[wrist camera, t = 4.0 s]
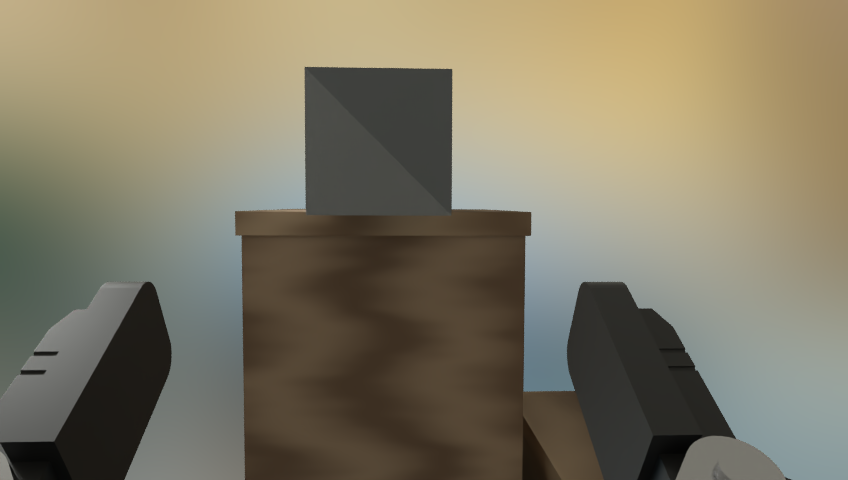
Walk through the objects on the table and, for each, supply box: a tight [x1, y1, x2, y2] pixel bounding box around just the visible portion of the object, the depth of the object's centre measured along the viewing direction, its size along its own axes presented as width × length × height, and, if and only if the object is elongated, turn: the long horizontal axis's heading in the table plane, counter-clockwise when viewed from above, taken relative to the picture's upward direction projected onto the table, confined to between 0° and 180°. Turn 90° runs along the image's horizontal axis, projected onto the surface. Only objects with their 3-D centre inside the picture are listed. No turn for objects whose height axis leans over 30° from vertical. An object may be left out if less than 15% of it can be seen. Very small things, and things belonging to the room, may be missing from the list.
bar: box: [305, 67, 452, 216], centre depth 29 cm, size 4×24×4 cm, turn 3°
